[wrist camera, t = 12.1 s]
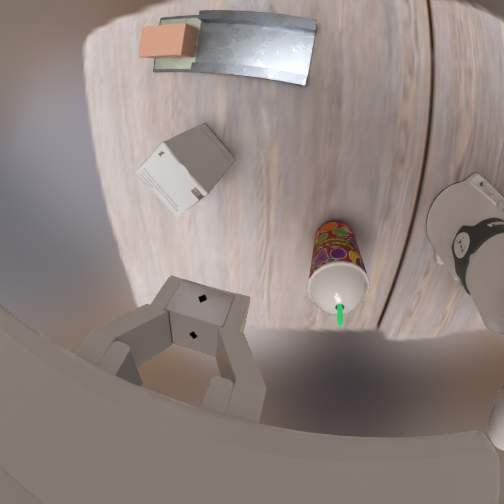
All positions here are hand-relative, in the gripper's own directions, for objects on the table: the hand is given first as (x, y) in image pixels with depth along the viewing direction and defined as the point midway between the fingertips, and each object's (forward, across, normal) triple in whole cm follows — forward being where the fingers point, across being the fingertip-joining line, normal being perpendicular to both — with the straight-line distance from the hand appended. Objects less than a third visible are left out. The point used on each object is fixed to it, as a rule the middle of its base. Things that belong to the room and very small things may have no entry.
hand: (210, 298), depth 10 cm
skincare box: (+35, +12, +5) cm, 37 cm away
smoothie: (+35, -11, +15) cm, 40 cm away
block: (+35, +20, -13) cm, 42 cm away
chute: (+35, +11, -13) cm, 39 cm away
